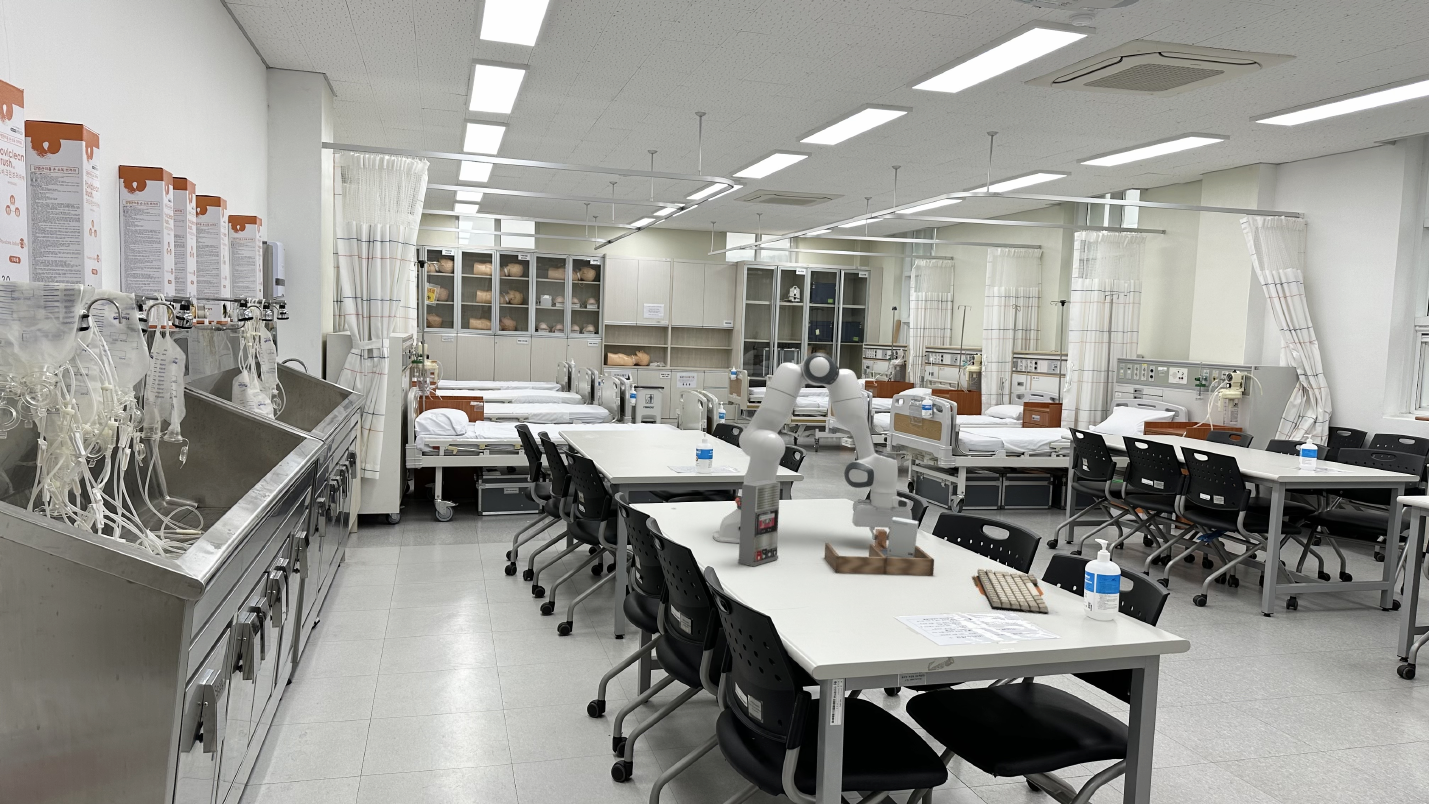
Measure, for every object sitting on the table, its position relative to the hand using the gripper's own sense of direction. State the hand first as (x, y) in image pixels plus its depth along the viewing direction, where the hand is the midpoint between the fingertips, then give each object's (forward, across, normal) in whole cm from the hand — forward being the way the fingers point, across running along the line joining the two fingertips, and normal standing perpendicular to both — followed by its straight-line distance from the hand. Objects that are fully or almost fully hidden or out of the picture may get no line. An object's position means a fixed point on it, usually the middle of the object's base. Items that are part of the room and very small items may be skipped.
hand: (880, 539), depth 308 cm
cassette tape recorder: (+3, -45, -24) cm, 51 cm away
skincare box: (+3, 0, -24) cm, 24 cm away
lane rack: (+3, -7, -25) cm, 26 cm away
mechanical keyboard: (+4, +26, -53) cm, 59 cm away
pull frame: (+3, 0, -14) cm, 14 cm away
